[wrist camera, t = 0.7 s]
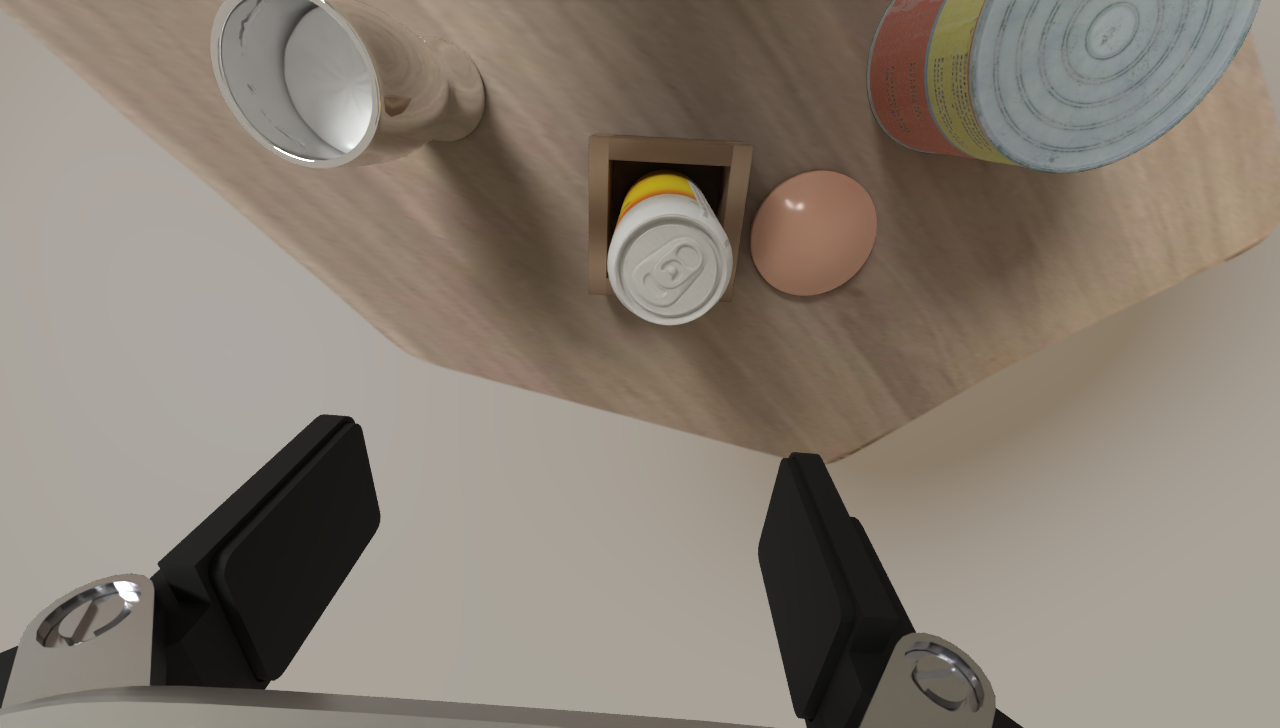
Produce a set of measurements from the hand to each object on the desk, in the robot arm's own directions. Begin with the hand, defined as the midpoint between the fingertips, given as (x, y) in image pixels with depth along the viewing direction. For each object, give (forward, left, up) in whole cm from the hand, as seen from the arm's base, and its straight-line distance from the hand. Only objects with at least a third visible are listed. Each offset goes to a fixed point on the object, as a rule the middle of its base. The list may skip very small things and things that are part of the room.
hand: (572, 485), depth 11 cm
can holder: (-1, +3, -29) cm, 29 cm away
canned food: (-11, +21, -29) cm, 37 cm away
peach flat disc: (0, +14, -29) cm, 32 cm away
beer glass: (-8, -13, -29) cm, 33 cm away
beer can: (-1, +3, -29) cm, 29 cm away
